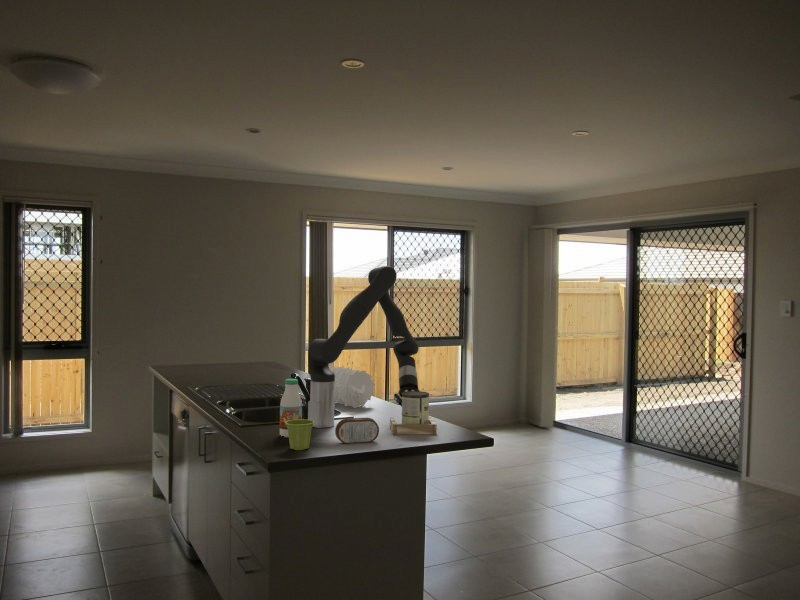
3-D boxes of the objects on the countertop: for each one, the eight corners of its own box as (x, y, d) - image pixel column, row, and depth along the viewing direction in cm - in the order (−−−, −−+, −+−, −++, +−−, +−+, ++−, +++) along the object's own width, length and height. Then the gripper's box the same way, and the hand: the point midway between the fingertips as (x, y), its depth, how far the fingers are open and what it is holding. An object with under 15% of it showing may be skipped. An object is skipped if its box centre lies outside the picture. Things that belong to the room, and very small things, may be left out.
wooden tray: (389, 426, 249) (389, 417, 249) (431, 426, 251) (431, 417, 251) (392, 434, 236) (392, 424, 236) (436, 434, 237) (436, 424, 237)
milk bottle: (277, 434, 233) (278, 378, 233) (298, 432, 236) (299, 377, 236) (282, 438, 226) (283, 381, 226) (304, 437, 229) (305, 380, 229)
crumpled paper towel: (339, 409, 310) (370, 414, 290) (310, 396, 300) (339, 400, 281) (352, 373, 315) (383, 376, 296) (324, 359, 306) (354, 361, 286)
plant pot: (284, 452, 206) (285, 424, 206) (284, 445, 215) (285, 419, 215) (314, 451, 207) (314, 424, 207) (313, 444, 217) (313, 418, 217)
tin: (377, 440, 225) (377, 416, 225) (379, 442, 222) (380, 418, 222) (334, 443, 220) (335, 418, 220) (336, 445, 217) (337, 420, 217)
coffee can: (403, 427, 249) (404, 390, 249) (430, 428, 247) (430, 391, 247) (398, 432, 239) (399, 394, 239) (426, 434, 237) (427, 395, 237)
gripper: (392, 373, 259) (394, 409, 247) (425, 373, 260) (428, 409, 248) (391, 385, 264) (393, 420, 252) (423, 385, 266) (426, 420, 253)
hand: (410, 415), depth 250 cm, fingers closed
